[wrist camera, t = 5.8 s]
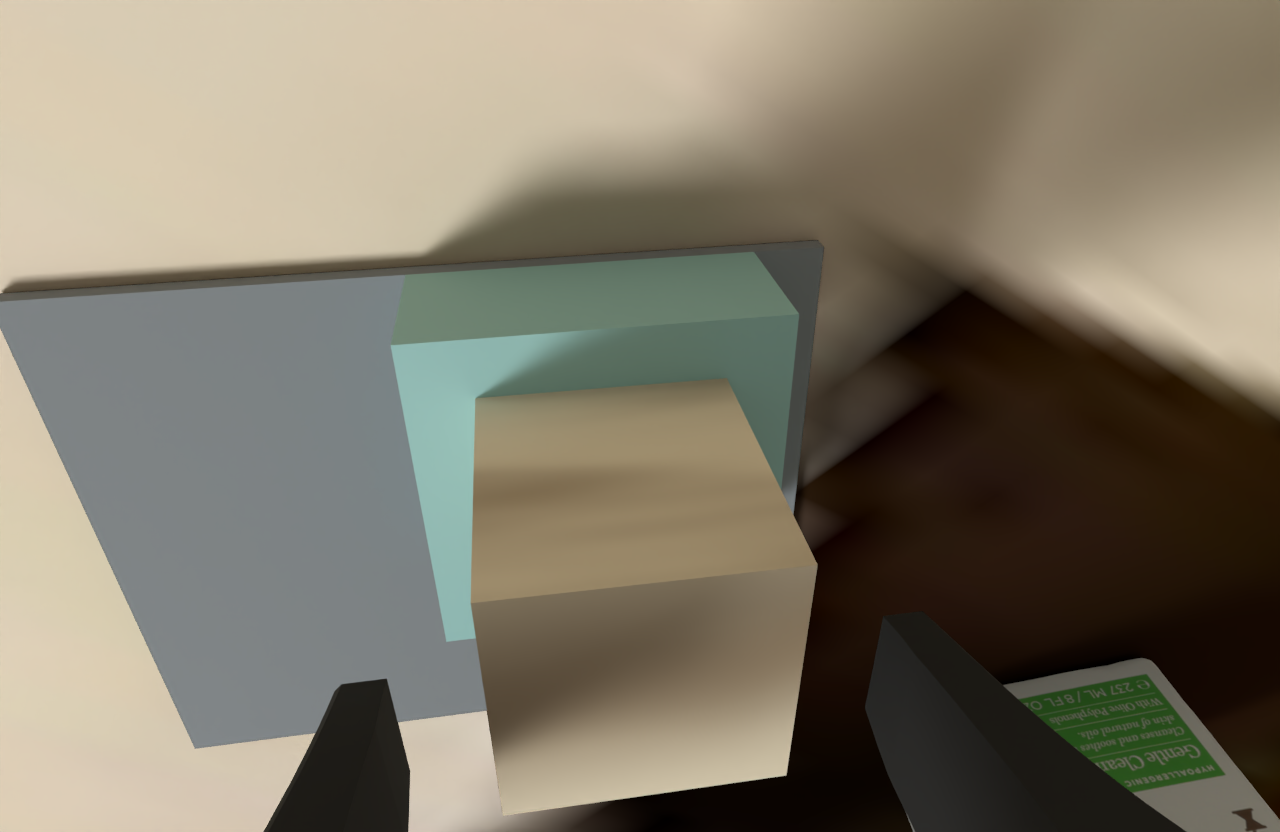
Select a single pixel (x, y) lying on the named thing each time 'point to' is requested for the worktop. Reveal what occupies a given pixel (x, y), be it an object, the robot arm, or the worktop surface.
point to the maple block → (633, 594)
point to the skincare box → (1149, 744)
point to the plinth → (574, 363)
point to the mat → (277, 480)
